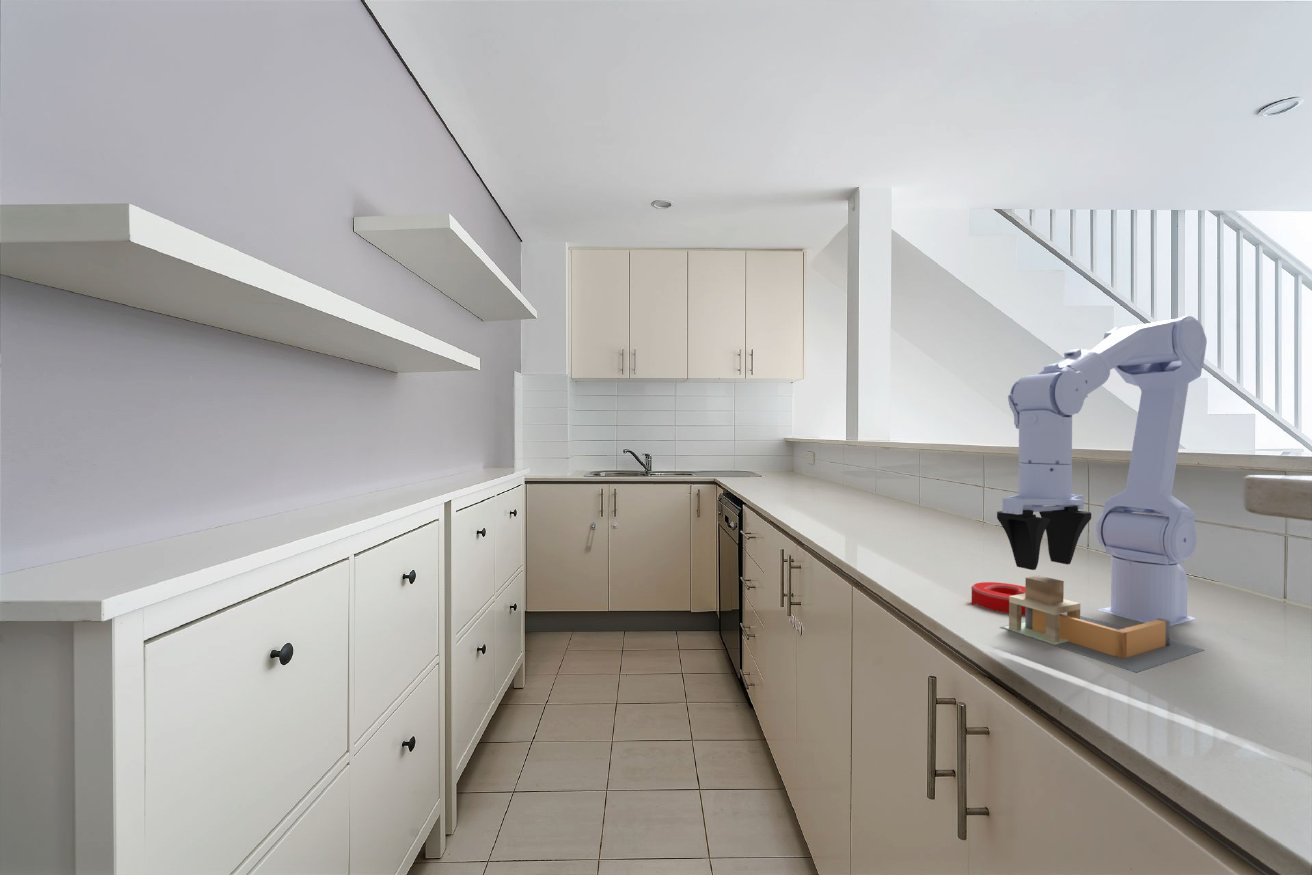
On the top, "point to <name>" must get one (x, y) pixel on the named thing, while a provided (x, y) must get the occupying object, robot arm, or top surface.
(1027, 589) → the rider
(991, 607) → the decorative ornament
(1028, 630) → the end pad
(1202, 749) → the top surface
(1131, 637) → the rail
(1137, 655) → the mat
